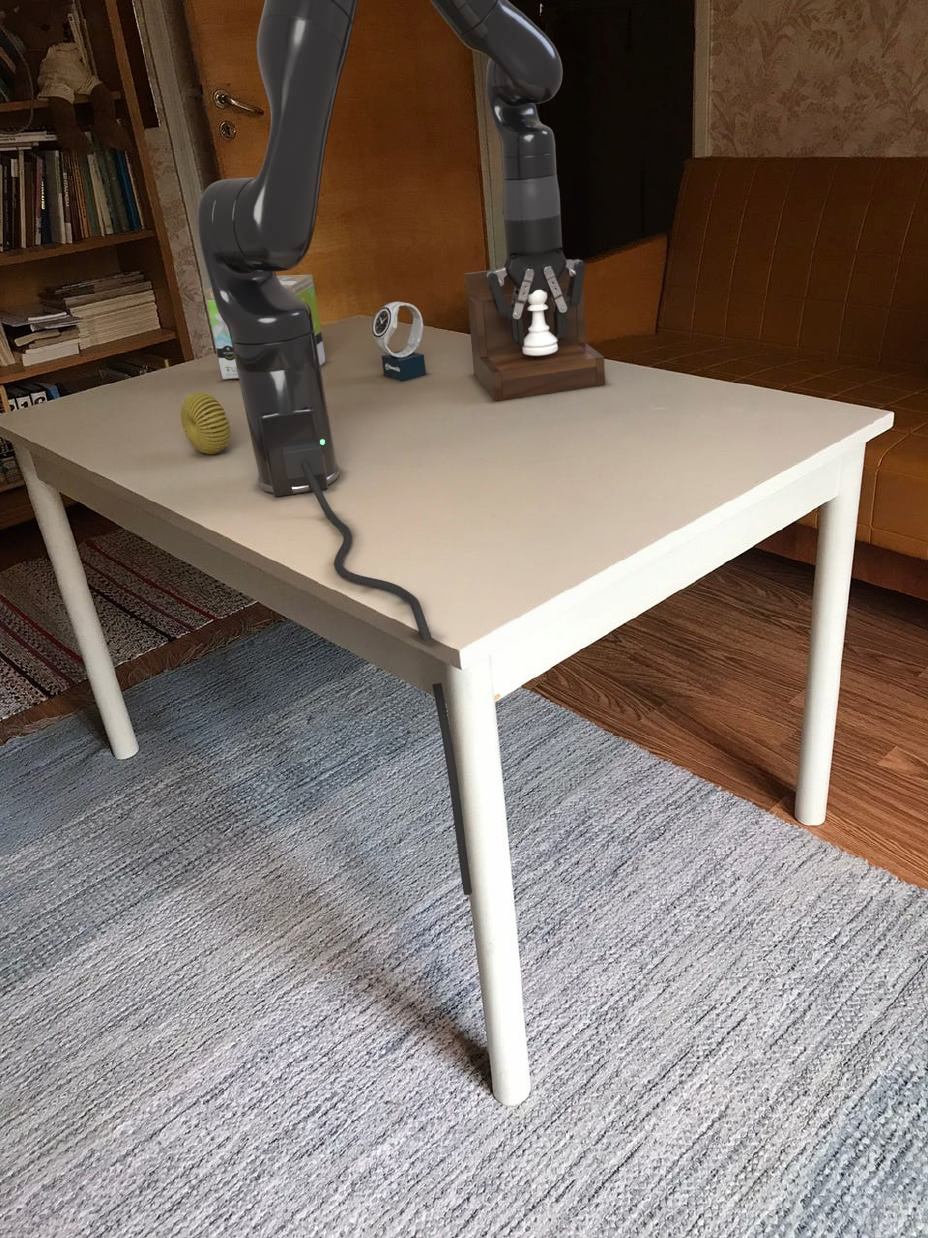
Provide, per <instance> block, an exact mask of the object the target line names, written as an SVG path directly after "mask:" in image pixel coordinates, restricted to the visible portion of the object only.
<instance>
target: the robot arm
mask: <svg viewBox="0 0 928 1238" xmlns="http://www.w3.org/2000/svg"><path fill="white" fill-rule="evenodd" d="M428 1H429V3H430V4H431V5H432V6H433V8H434V9H435V10H436V11H437V13H438V14H439V16H441V18H442V19H443V21H444V22H445V23H446V24H447V25H448V27H449V28H450V29H451V31H452V32H453V33H454V34H455V36H456V37H457V38H458V40H460V42H461V43H462V45H464V46H465V47H466V48H468V49H470V50H471V51H474V52H478V53H481V54H484V55H486V56H487V57H488V58H489V59H488V61H487V66H486V72H485V91H486V96H487V102H488V104H489V108H490V112H491V115H492V119H493V123H494V127H495V131H496V133H497V136H498V139H499V143H500V149H501V151H500V153H501V165H502V179H503V180H502V182H503V185H502V215H503V222H504V223H503V224H504V235H505V236H504V237H505V249H506V261H505V262H504V265H503V267H501V268H497V269H498V270H496V271H487V270H486V271H487V272H486V274H485V276H486V279H487V283H488V286H489V289H490V292H491V295H492V299H493V302H494V305H495V308H496V311H497V312H498V313H499V314H500V315H501V316H506V317H509V318H510V325H511V337H512V339H513V341H514V342H516V343H517V345H518V346H523V345H524V332H523V319H522V318H521V314H522V311H523V307H524V304H525V303H526V300H527V296H528V294H533V293H534V292H535V291H536V290H542V291H544V292H548V294H549V296H550V298H551V300H552V302H553V304H554V307H555V311H553V316H554V335H555V337H556V338H557V340H558V341H559V340H563V336H564V335H566V333H567V318H566V313H567V311H568V309H570V308H572V307H576V306H578V305H579V303H580V297H581V291H582V286H583V285H584V279H585V273H586V268H587V265H586V263H585V262H584V261H583V260H581V259H580V258H575V259H572V260H568V259H567V258H566V257H565V255H564V252H563V236H562V217H561V216H562V214H561V196H560V187H559V181H558V174H557V172H558V171H557V170H558V169H557V153H556V152H557V151H556V149H557V148H556V139H555V133H554V131H553V130H552V128H551V127H549V126H548V125H546V124H543V123H542V121H540V118H539V114H538V110H537V105H539V104H543V103H545V102H548V101H550V100H551V99H552V98H554V97H555V96H556V94H557V93H558V92H559V90H560V88H561V86H562V83H563V76H564V74H563V73H564V69H563V64H562V59H561V57H560V54H559V52H558V50H557V48H556V46H555V44H554V43H553V41H551V39H550V38H549V36H547V34H545V32H544V31H543V30H541V28H540V27H538V25H536V24H535V23H534V22H533V21H532V20H531V19H530V18H528V16H526V15H525V13H524V12H522V11H521V10H519V8H517V7H516V6H515V5H513V4H512V3H511V2H510V1H509V0H428ZM358 3H359V0H264V5H263V8H262V13H261V17H260V20H259V21H260V22H259V25H258V29H257V30H258V31H257V37H256V44H255V45H256V46H255V48H256V60H257V64H258V69H259V73H260V78H261V81H262V84H263V88H264V91H265V92H264V93H265V95H266V98H267V102H268V106H269V112H270V126H269V127H270V128H269V136H268V141H267V146H266V151H265V154H264V159H263V162H262V164H261V168H260V171H259V172H258V176H253V177H236V178H235V177H234V178H224V179H219V180H217V181H214V182H213V183H210V184H209V185H208V186H207V187H206V188H205V189H204V191H203V193H202V194H201V197H200V199H199V204H198V207H197V223H196V224H197V233H198V239H199V244H200V249H201V253H202V257H203V262H204V265H205V269H206V273H207V276H208V281H209V284H210V288H212V292H213V296H214V300H215V303H216V306H217V309H218V311H219V314H220V316H221V317H222V319H223V320H224V322H225V323H226V325H227V327H228V330H229V333H230V338H231V342H232V347H233V352H234V357H235V362H236V367H237V372H238V377H239V378H238V381H239V387H240V392H241V396H242V401H243V405H244V410H245V416H246V420H247V425H248V429H249V435H250V440H251V444H252V449H253V454H254V458H255V459H254V460H255V463H256V469H257V472H258V483H259V486H260V488H261V490H263V491H264V492H267V493H271V494H273V496H274V497H283V496H290V495H295V494H296V495H297V494H303V493H309V492H313V494H314V496H315V498H316V500H317V502H318V504H319V506H320V507H321V510H322V511H323V513H324V515H325V516H326V518H327V520H329V522H330V523H331V524H332V525H333V526H334V527H335V528H336V529H338V530H339V531H340V532H341V534H342V535H343V541H342V544H341V545H340V548H339V549H338V551H337V552H336V554H335V557H334V559H333V565H334V569H335V571H336V573H337V574H338V576H340V578H343V579H344V580H345V581H348V582H350V583H353V584H356V585H360V586H363V587H369V588H374V589H379V590H382V591H386V592H389V593H391V594H393V595H396V596H397V597H399V598H401V599H402V600H403V601H405V602H406V603H407V604H408V605H409V606H410V609H411V611H412V614H413V617H414V620H415V624H416V626H417V628H418V632H419V635H420V639H421V640H422V641H424V642H428V641H431V640H432V635H431V631H430V628H429V626H428V622H427V620H426V618H425V613H424V611H423V608H422V605H421V603H420V601H419V599H418V598H417V597H416V596H415V595H414V594H412V593H411V592H410V591H408V590H406V589H405V588H403V587H402V586H401V585H398V584H395V583H393V582H390V581H387V580H383V579H380V578H373V577H370V576H365V575H361V574H358V573H354V572H351V571H349V570H348V569H347V568H346V567H345V566H344V559H345V557H346V556H347V554H348V552H349V550H350V548H351V546H352V543H353V535H352V532H351V529H350V528H349V527H348V525H346V524H345V523H344V522H343V521H342V520H341V519H339V517H338V516H337V515H336V514H335V513H334V511H333V510H332V508H331V506H330V504H329V503H328V501H327V499H326V497H325V495H324V493H323V490H327V489H329V485H331V484H332V483H333V482H335V481H336V480H337V479H338V478H339V476H340V471H339V466H338V463H337V459H336V452H335V446H334V440H333V435H332V428H331V422H330V416H329V410H328V405H327V398H326V392H325V387H324V386H325V385H324V381H323V375H322V369H321V366H320V362H319V356H318V349H317V343H316V337H315V331H314V325H313V319H312V314H311V310H310V307H309V306H308V304H307V303H306V302H305V301H303V300H302V299H300V298H298V297H296V296H295V295H293V294H292V293H290V292H289V291H288V290H287V289H285V288H284V287H283V285H282V284H281V283H280V282H279V280H278V278H277V276H278V275H277V274H276V273H279V272H280V273H281V272H287V271H290V270H293V269H295V268H296V267H297V266H299V265H300V264H301V263H302V261H303V260H304V259H305V257H306V255H307V253H308V252H309V249H310V247H311V243H312V240H313V236H314V233H315V226H316V221H317V214H318V206H319V199H320V190H321V183H322V175H323V169H324V160H325V153H326V147H327V143H328V137H329V131H330V127H331V122H332V118H333V112H334V108H335V102H336V98H337V93H338V89H339V84H340V81H341V76H342V73H343V70H344V66H345V63H346V59H347V55H348V52H349V51H348V50H349V47H350V46H349V45H350V41H351V37H352V34H353V30H354V29H353V28H354V24H355V17H356V13H357V8H358ZM565 267H566V268H567V273H568V275H570V281H569V287H568V293H567V297H566V298H563V296H562V292H561V289H560V287H559V285H558V282H557V281H558V279H559V277H560V275H561V274H562V272H563V270H564V269H565ZM506 275H507V276H508V277H509V278H510V279H511V280H512V282H513V283H514V284H515V287H514V290H513V294H512V301H511V305H510V307H509V306H507V305H506V302H505V299H504V296H503V292H502V289H501V286H503V284H504V277H505V276H506ZM518 289H519V290H518ZM523 293H524V294H523ZM431 686H432V690H433V697H434V703H435V708H436V713H437V717H438V723H439V728H440V729H439V730H440V734H441V740H442V748H443V753H444V758H445V766H446V771H447V778H448V786H449V793H450V801H451V808H452V816H453V825H454V832H455V839H456V840H455V842H456V847H457V855H458V863H459V871H460V877H461V878H460V879H461V885H462V891H463V895H465V896H470V895H472V894H473V888H472V882H471V881H472V880H471V874H470V868H469V867H470V866H469V859H468V851H467V843H466V834H465V827H464V819H463V810H462V801H461V794H460V785H459V779H458V773H457V772H458V771H457V765H456V759H455V758H456V757H455V751H454V745H453V740H452V733H451V728H450V721H449V715H448V710H447V705H446V699H445V693H444V689H443V682H437V683H432V684H431Z"/></svg>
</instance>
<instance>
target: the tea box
mask: <svg viewBox="0 0 928 1238" xmlns="http://www.w3.org/2000/svg"><path fill="white" fill-rule="evenodd" d="M276 276H277V278H278V280H279V282H280V283H281V284H282V285H283V287H284V288H285V289H287V290H288V291H289V292H290V293H292V294H293V295H295V296H296V297H298V298H300V299H302V300H303V301H305V302H306V303H307V304H308V306H309V307H310V310H311V314H312V319H313V325H314V331H315V337H316V343H317V349H318V356H319V362H320V367H321V366H322V365H323V364H325V362H326V356H325V349H324V342H323V334H322V327H321V322H320V316H319V309H318V302H317V296H316V295H317V294H316V290H315V289H316V288H315V283H314V277H313V274H310V273H309V274H288V275H287V274H286V275H276ZM204 296H205V301H206V306H207V312H208V316H209V321H210V325H211V331H212V337H213V341H214V347H215V350H216V355H217V356H216V357H217V360H218V364H219V369H220V373H221V378H222V380H233V379H239V377H238V372H237V367H236V362H235V357H234V352H233V347H232V342H231V338H230V333H229V330H228V327H227V325H226V323H225V322H224V320H223V319H222V317H221V316H220V314H219V311H218V309H217V306H216V303H215V300H214V296H213V292H212V288H211V287H209V288H208V289H207V288H206V289H204Z"/></svg>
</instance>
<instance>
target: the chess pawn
mask: <svg viewBox="0 0 928 1238" xmlns="http://www.w3.org/2000/svg"><path fill="white" fill-rule="evenodd" d="M527 300H528V302H529V303H530V304H531V305H530V306H529V307H528V309H527V310H529V311H532V325H531V327H529V329H528V330H529V331H530V333H529V334H528V335H527V336H526V337H525V338H524V345H523V347H522V350H523V353H524V354H526V355H530V356H540V355H548V354H552V353H554V352H556V351H557V350H558V344H557V338H556V337H555V336H554V335H553V334H552V333H550V332H549V326H548V325H546V323H545V319H544V312H543V310H545V309H548V306H547V305H546V304H544V303H545V302H546V300H547V292H544V291H542V290H536V291H535V292H534V293H533V294H528V296H527Z"/></svg>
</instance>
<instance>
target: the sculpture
mask: <svg viewBox="0 0 928 1238" xmlns="http://www.w3.org/2000/svg"><path fill="white" fill-rule="evenodd" d="M180 421H181V426H182V429H183V432H184V434H185V437H186V438H187V440H188V441H189V443H190V444H191V445H192V447H193V448H195V450H197V451H199V452H200V453H203V454H206V455H215V454H218V453H221V452H222V451H224V450H225V448H226V447H227V445H228V444H229V441H230V438H231V427H230V426H231V425H230V422H229V418H228V415H227V414H226V411H225V409H224V407H223V406H222V405H221V403H220V402H219V401H218V400H217V399H216V398H215V397H214V396H213V395H210V394H208V393H205V392H195V393H193V394H190V395H188V396H187V397H186V398H185V399H184V401H183V402H182V405H181V408H180Z"/></svg>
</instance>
